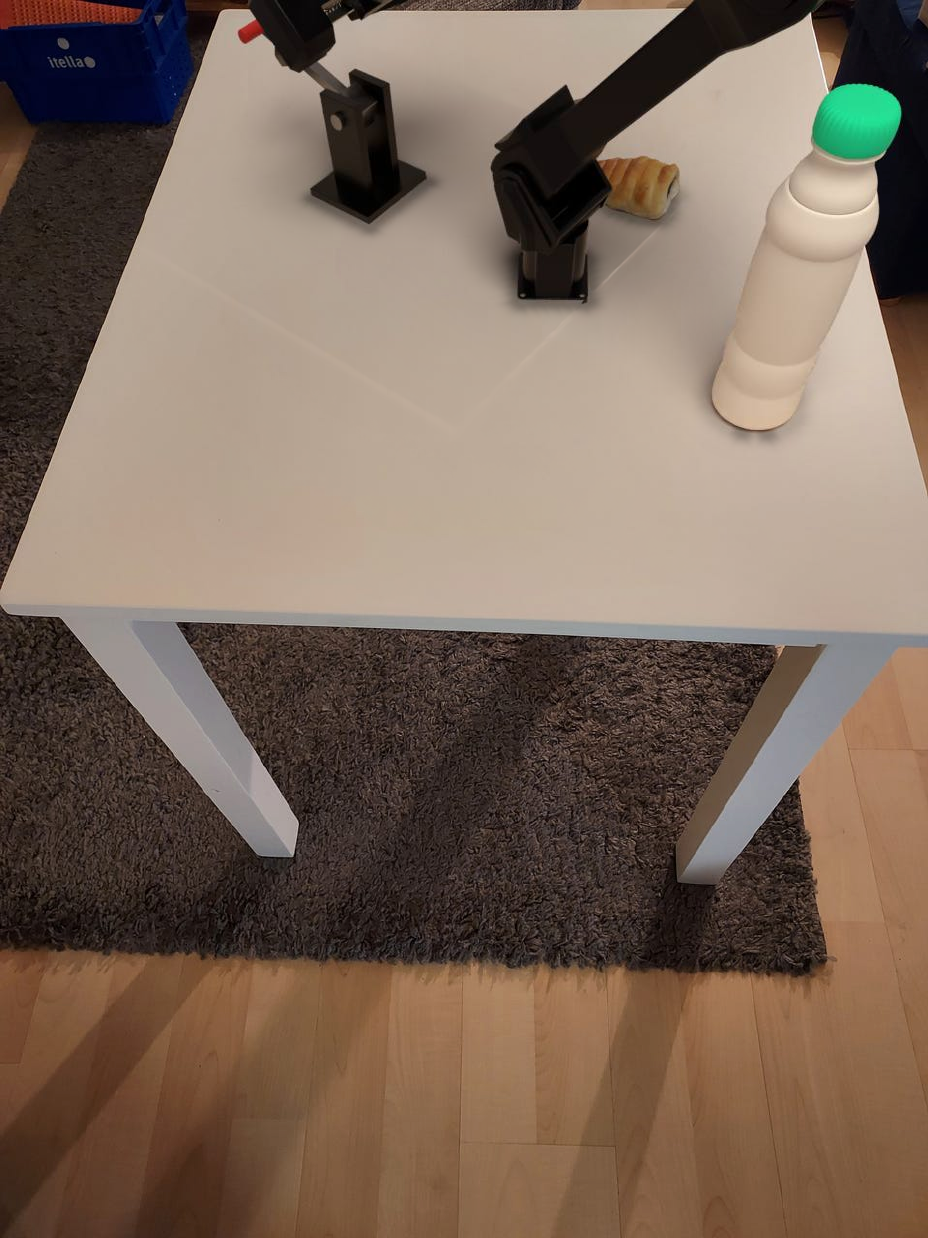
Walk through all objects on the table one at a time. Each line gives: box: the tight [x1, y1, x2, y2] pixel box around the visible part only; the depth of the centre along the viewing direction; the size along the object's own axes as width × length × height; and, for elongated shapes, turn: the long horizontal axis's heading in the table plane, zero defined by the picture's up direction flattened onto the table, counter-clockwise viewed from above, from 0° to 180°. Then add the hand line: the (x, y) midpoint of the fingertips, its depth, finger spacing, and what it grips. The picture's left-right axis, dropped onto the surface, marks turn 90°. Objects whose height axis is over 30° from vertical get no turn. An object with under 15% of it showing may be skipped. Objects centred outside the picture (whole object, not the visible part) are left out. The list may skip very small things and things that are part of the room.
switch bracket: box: [309, 68, 427, 225], centre depth 82 cm, size 8×9×10 cm
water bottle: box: [711, 83, 902, 431], centre depth 60 cm, size 7×7×25 cm
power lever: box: [237, 19, 377, 128], centre depth 79 cm, size 14×6×2 cm, turn 52°
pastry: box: [597, 155, 681, 220], centre depth 83 cm, size 9×7×4 cm
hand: (314, 37), depth 77 cm, fingers open, 9 cm apart
